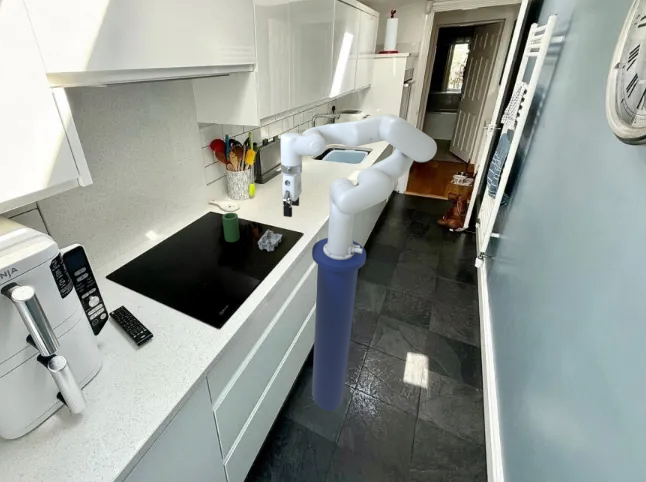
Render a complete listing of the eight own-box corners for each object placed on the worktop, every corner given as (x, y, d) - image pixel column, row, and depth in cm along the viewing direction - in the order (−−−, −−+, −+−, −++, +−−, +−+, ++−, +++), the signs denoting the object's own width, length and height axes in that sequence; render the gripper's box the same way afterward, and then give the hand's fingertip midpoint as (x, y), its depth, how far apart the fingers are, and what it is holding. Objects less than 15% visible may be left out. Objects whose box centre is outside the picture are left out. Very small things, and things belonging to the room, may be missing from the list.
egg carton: (268, 236, 135) (268, 228, 133) (284, 240, 131) (283, 232, 129) (255, 248, 126) (255, 239, 125) (271, 253, 123) (271, 244, 121)
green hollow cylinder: (242, 235, 136) (240, 213, 131) (235, 243, 130) (233, 220, 126) (229, 233, 138) (226, 211, 133) (222, 240, 132) (219, 218, 128)
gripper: (294, 177, 102) (294, 222, 110) (307, 161, 117) (306, 202, 124) (273, 175, 104) (274, 219, 112) (288, 160, 119) (288, 200, 127)
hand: (291, 210), depth 118 cm, fingers open, 9 cm apart
